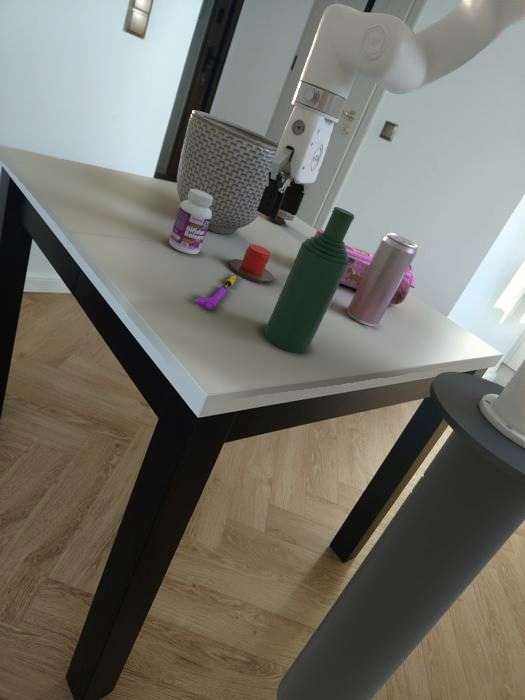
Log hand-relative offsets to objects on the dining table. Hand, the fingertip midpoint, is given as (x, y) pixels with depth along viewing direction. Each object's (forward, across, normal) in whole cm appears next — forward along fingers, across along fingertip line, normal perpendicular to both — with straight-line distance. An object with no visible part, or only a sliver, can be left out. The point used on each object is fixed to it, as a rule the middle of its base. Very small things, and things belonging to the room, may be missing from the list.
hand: (277, 213), depth 83 cm
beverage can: (+12, +6, -19) cm, 23 cm away
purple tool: (+12, -14, 0) cm, 18 cm away
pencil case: (+12, +20, -13) cm, 27 cm away
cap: (+10, 0, +1) cm, 11 cm away
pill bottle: (+11, -5, +12) cm, 17 cm away
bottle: (+12, -18, -13) cm, 25 cm away
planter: (+11, +15, +18) cm, 26 cm away
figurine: (+11, +45, +14) cm, 48 cm away
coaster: (+11, 0, +1) cm, 11 cm away
